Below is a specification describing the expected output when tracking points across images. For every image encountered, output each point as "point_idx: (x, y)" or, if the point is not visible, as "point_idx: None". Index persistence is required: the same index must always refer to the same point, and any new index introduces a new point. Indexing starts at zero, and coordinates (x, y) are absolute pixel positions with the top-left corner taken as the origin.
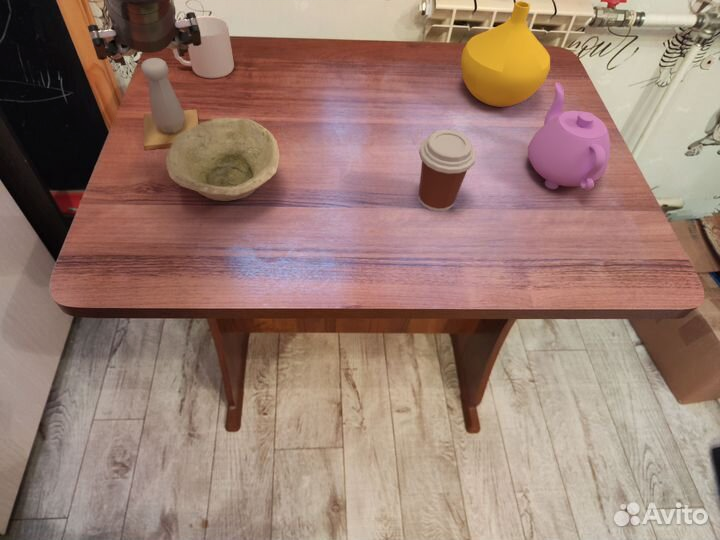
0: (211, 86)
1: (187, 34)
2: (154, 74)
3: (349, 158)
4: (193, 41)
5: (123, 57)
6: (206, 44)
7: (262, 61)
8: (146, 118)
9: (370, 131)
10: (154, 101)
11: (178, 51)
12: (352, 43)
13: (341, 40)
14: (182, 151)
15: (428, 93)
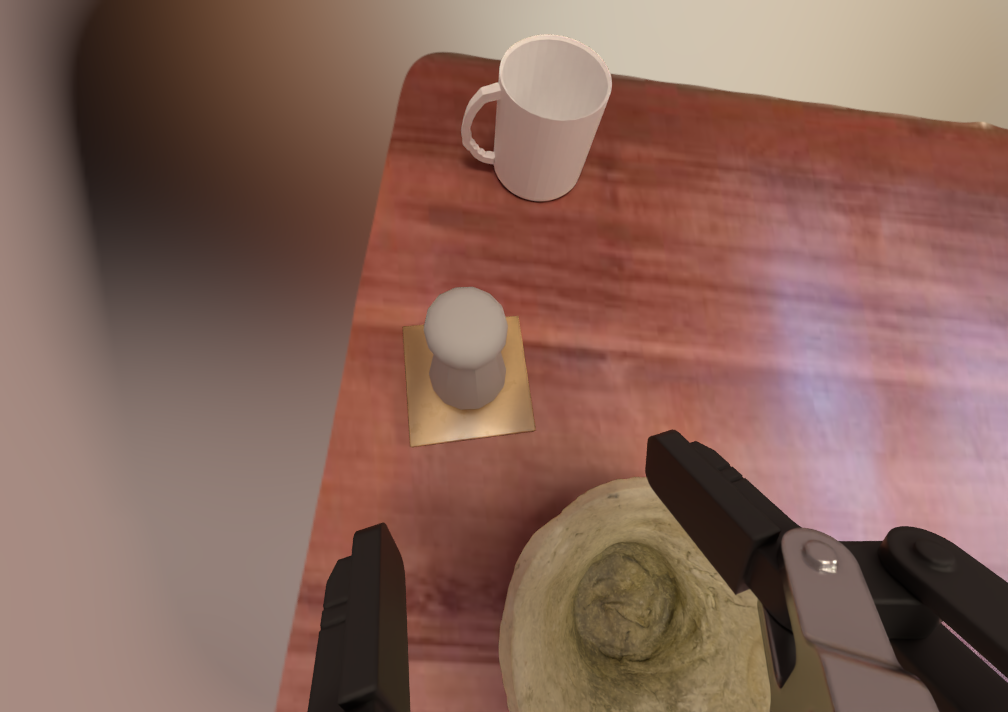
0: (537, 227)
1: (887, 615)
2: (469, 367)
3: (855, 502)
4: (944, 709)
5: (402, 642)
6: (555, 138)
7: (633, 152)
8: (409, 342)
9: (884, 407)
10: (448, 383)
11: (670, 499)
12: (804, 111)
13: (781, 99)
14: (538, 603)
15: (977, 285)
